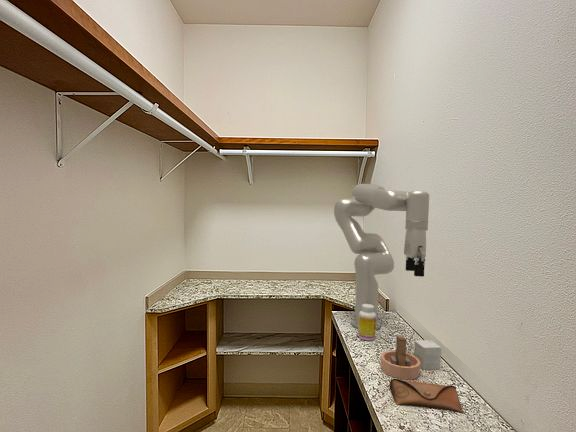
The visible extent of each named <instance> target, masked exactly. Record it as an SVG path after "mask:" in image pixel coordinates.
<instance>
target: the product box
mask: <svg viewBox="0 0 576 432" xmlns="http://www.w3.org/2000/svg"><path fill="white" fill-rule="evenodd" d="M413 345H414V346H413V347H414V348H413V356H415V357H417V358H418V359H419V361H420V362H421V368H420V369H421V370H422V371H429V370H431V371H432V370H441V358H442V357H441V355H442V347H441V346H440V345H438V344H437V343H436V342H434V341H433V340H431V339H419V340H414V344H413Z"/></svg>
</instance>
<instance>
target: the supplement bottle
mask: <svg viewBox="0 0 576 432" xmlns="http://www.w3.org/2000/svg"><path fill="white" fill-rule="evenodd" d="M373 310H374V306H373V305H371V304H363V305H362V311H360V312H359V327H358V328H357V330H358V331H357V332H358V333H357V336H358V338H359V339H360V340H363V341H374V340H375V339H376V332H377V330H376V313H375V312H373Z"/></svg>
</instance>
